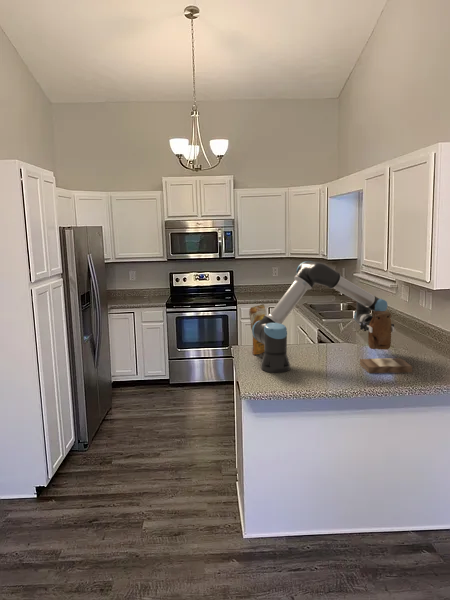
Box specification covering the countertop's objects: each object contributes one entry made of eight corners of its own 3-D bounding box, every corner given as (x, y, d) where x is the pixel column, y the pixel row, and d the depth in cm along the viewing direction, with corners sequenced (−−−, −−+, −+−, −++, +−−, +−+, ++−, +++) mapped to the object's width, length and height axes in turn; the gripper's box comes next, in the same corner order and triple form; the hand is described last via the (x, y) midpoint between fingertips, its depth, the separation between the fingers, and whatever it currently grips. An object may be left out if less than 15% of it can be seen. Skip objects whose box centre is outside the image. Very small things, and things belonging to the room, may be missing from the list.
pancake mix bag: (245, 354, 277) (245, 307, 273) (264, 347, 292) (264, 303, 287) (255, 356, 273) (254, 308, 269) (273, 349, 287) (273, 304, 283)
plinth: (368, 373, 239) (369, 366, 238) (359, 364, 254) (360, 358, 253) (412, 372, 239) (412, 365, 239) (400, 363, 254) (400, 357, 254)
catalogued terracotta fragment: (385, 346, 256) (387, 310, 253) (391, 350, 249) (393, 312, 246) (366, 347, 255) (367, 310, 252) (372, 350, 248) (373, 313, 245)
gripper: (388, 327, 269) (404, 336, 247) (347, 328, 268) (360, 337, 246) (388, 314, 268) (405, 322, 246) (348, 315, 267) (360, 323, 245)
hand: (382, 330), depth 246 cm, fingers closed on catalogued terracotta fragment, 11 cm apart
